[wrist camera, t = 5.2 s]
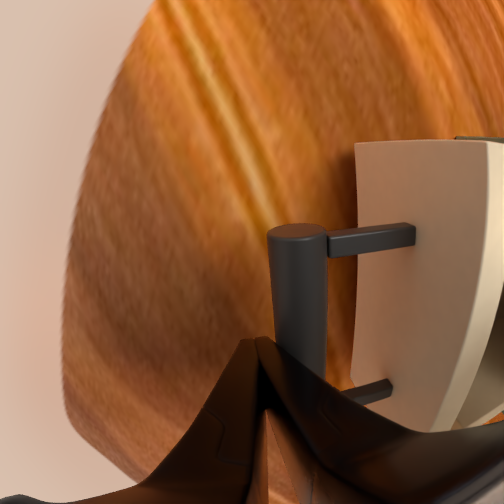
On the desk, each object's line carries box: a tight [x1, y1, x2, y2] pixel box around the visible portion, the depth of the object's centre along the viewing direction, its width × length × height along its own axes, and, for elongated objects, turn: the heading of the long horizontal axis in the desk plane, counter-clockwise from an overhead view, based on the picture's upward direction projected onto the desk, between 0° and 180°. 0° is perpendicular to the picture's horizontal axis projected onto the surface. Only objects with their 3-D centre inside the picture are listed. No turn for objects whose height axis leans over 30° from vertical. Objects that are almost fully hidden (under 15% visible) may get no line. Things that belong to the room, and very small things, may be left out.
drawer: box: [267, 140, 504, 433], centre depth 9 cm, size 18×11×7 cm, turn 96°
